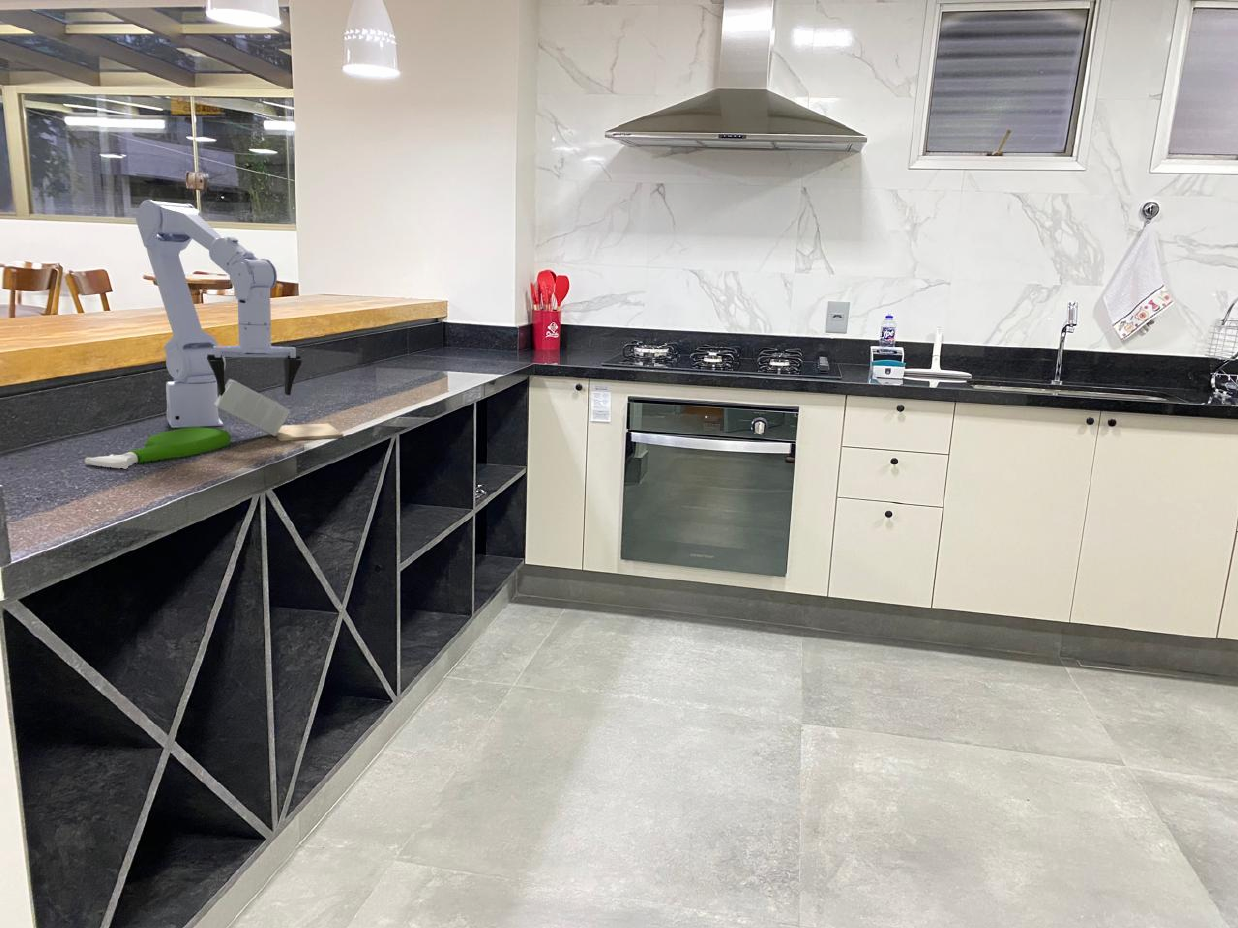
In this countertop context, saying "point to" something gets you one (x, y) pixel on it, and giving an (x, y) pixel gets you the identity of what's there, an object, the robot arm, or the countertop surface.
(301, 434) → the cork mat
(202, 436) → the spray bottle
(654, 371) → the countertop surface
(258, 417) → the skincare box
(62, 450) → the countertop surface
